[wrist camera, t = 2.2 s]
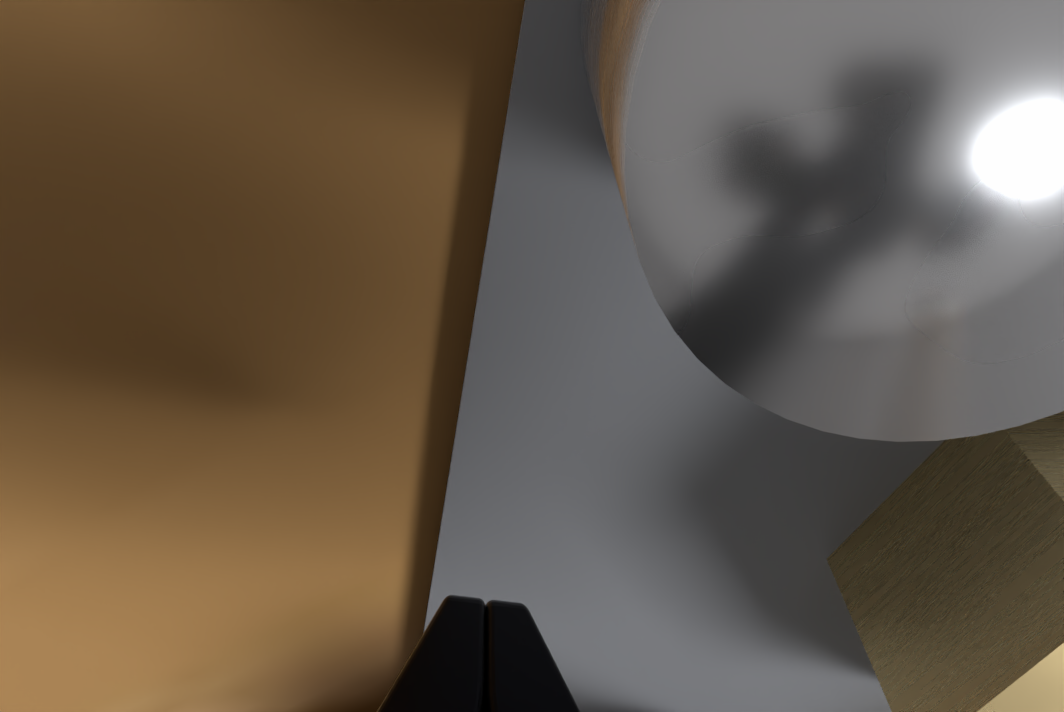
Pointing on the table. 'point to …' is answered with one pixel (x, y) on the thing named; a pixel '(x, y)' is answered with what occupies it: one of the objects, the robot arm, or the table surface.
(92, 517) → the table surface
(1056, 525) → the faceted tan block
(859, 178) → the spacers
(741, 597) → the mat
